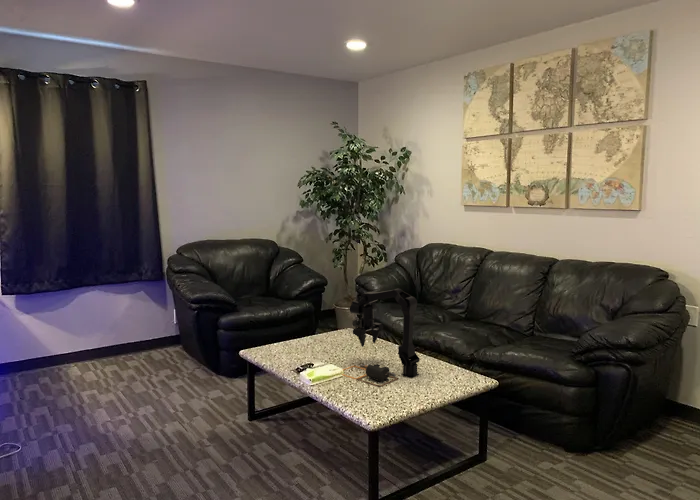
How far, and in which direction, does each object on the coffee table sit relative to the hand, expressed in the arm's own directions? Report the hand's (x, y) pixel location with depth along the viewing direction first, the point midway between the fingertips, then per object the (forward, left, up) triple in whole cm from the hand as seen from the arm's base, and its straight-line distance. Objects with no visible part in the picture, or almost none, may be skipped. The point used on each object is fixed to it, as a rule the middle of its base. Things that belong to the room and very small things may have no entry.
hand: (368, 344), depth 277 cm
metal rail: (-11, +5, -11) cm, 16 cm away
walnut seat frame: (-18, +14, -11) cm, 25 cm away
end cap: (-18, +14, -11) cm, 25 cm away
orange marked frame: (-3, +14, -11) cm, 18 cm away
